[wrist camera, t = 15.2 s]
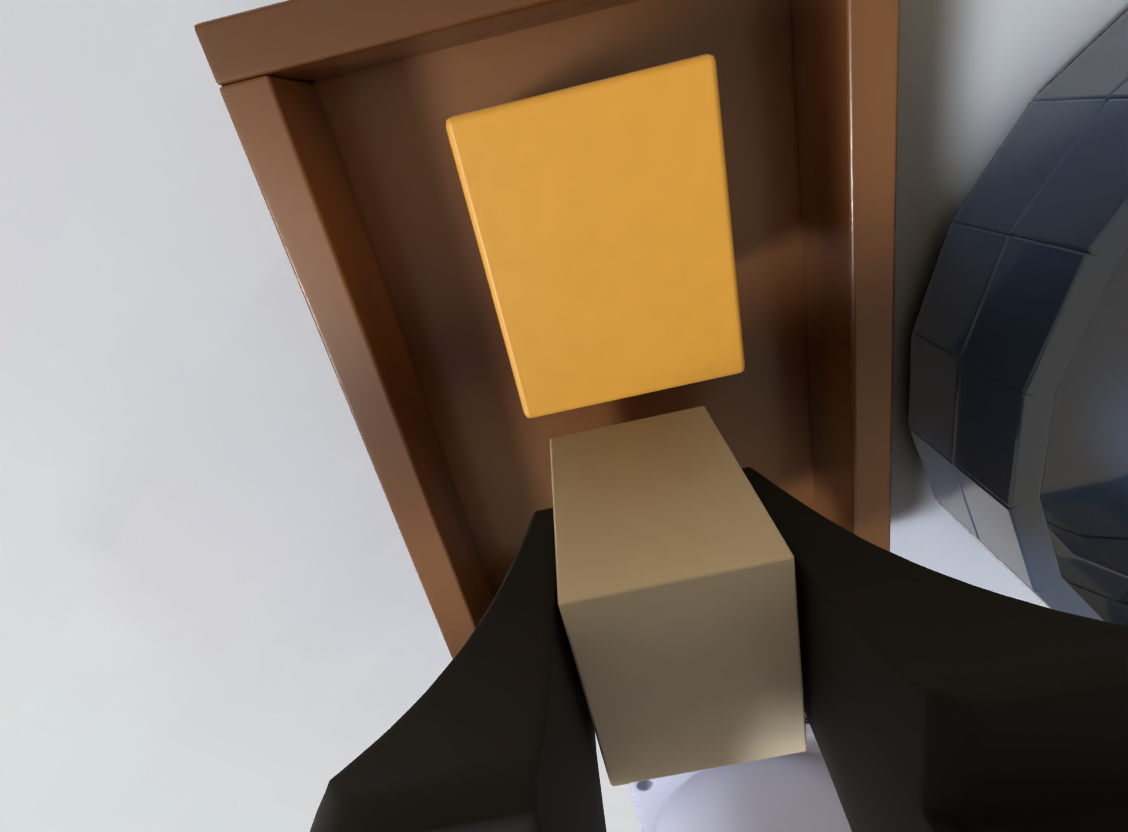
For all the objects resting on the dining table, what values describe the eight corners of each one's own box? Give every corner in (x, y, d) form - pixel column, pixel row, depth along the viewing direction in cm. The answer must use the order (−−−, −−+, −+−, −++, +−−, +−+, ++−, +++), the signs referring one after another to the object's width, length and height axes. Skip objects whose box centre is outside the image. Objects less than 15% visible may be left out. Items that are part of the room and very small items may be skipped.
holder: (836, 543, 17) (890, 618, 14) (477, 615, 17) (468, 699, 15) (818, -95, 11) (904, -161, 8) (267, 45, 11) (191, 24, 9)
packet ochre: (676, 289, 13) (748, 373, 9) (528, 323, 13) (525, 422, 9) (647, 77, 11) (717, 50, 7) (477, 119, 11) (442, 117, 7)
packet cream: (724, 559, 14) (808, 752, 10) (587, 586, 14) (610, 788, 10) (704, 404, 12) (795, 555, 8) (549, 438, 13) (557, 603, 8)
